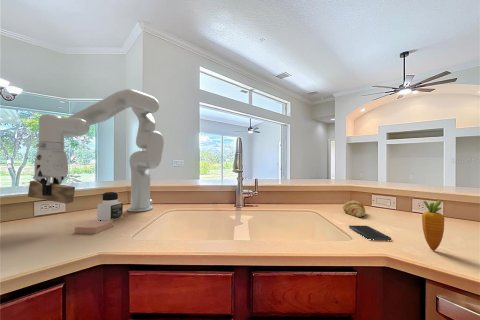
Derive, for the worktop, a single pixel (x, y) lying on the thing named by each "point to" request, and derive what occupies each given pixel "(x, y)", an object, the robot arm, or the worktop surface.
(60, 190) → the brown wooden block
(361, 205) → the croissant
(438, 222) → the carrot
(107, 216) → the medicine bottle
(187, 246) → the worktop surface
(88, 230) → the tile
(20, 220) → the worktop surface
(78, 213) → the worktop surface
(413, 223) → the worktop surface
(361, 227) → the phone
